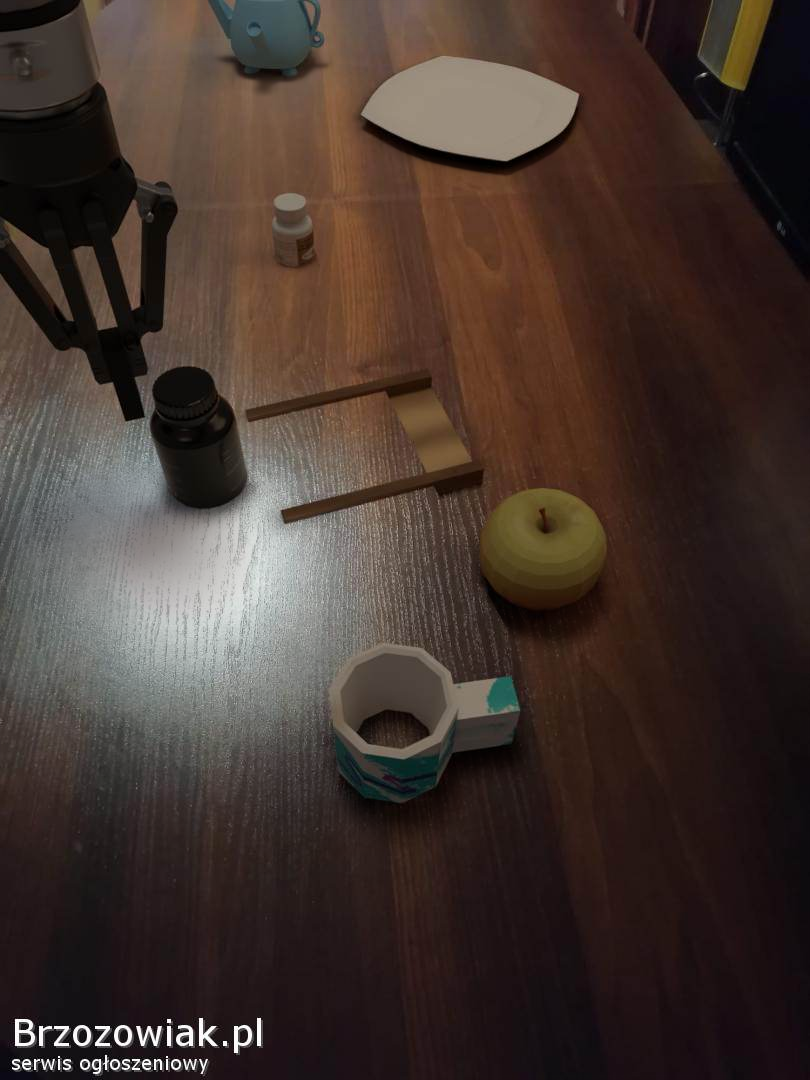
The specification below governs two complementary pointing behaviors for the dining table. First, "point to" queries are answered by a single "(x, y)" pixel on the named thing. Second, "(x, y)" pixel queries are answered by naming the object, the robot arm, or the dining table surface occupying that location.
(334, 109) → the dining table surface
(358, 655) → the mug
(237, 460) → the supplement bottle
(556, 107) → the plate
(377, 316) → the dining table surface
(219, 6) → the teapot
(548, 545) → the apple
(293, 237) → the pill bottle
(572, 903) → the dining table surface
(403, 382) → the brown u-shaped piece
